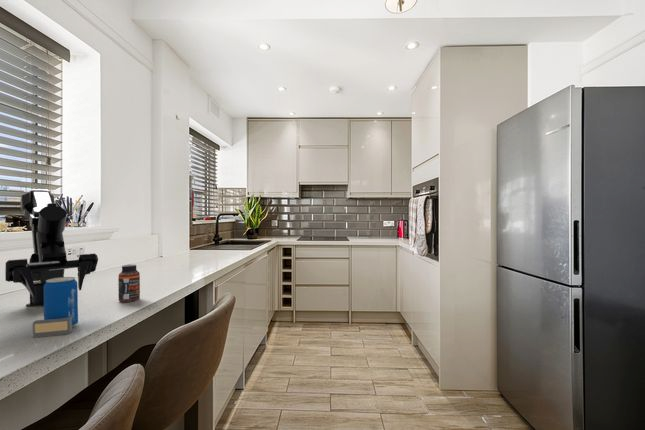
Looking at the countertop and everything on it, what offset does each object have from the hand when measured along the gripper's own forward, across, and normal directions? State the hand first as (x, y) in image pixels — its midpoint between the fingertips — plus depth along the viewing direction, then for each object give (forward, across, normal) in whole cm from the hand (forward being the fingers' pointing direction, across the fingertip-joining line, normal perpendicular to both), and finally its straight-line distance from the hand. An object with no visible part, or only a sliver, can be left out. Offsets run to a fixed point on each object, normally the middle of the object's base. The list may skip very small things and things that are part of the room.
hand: (58, 292), depth 83 cm
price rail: (+12, +2, +1) cm, 12 cm away
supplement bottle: (-2, -19, -14) cm, 24 cm away
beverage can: (+9, 0, -2) cm, 9 cm away
